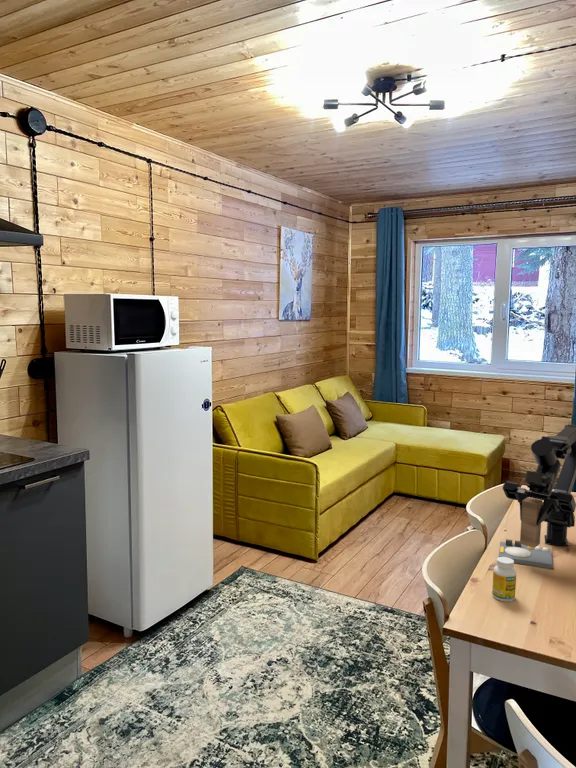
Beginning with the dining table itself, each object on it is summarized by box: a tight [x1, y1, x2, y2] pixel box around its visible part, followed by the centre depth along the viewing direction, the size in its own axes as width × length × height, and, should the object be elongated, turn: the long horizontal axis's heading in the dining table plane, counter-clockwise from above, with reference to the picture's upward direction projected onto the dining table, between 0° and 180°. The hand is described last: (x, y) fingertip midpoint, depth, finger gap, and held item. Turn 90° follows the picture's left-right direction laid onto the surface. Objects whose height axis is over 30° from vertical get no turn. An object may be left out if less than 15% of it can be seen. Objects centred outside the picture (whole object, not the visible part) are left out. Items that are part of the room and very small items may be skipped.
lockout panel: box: [498, 538, 553, 570], centre depth 167 cm, size 12×14×3 cm
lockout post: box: [519, 497, 543, 548], centre depth 160 cm, size 4×4×12 cm
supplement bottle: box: [491, 556, 517, 603], centre depth 142 cm, size 5×5×10 cm
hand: (529, 522), depth 159 cm, fingers closed on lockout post, 4 cm apart
